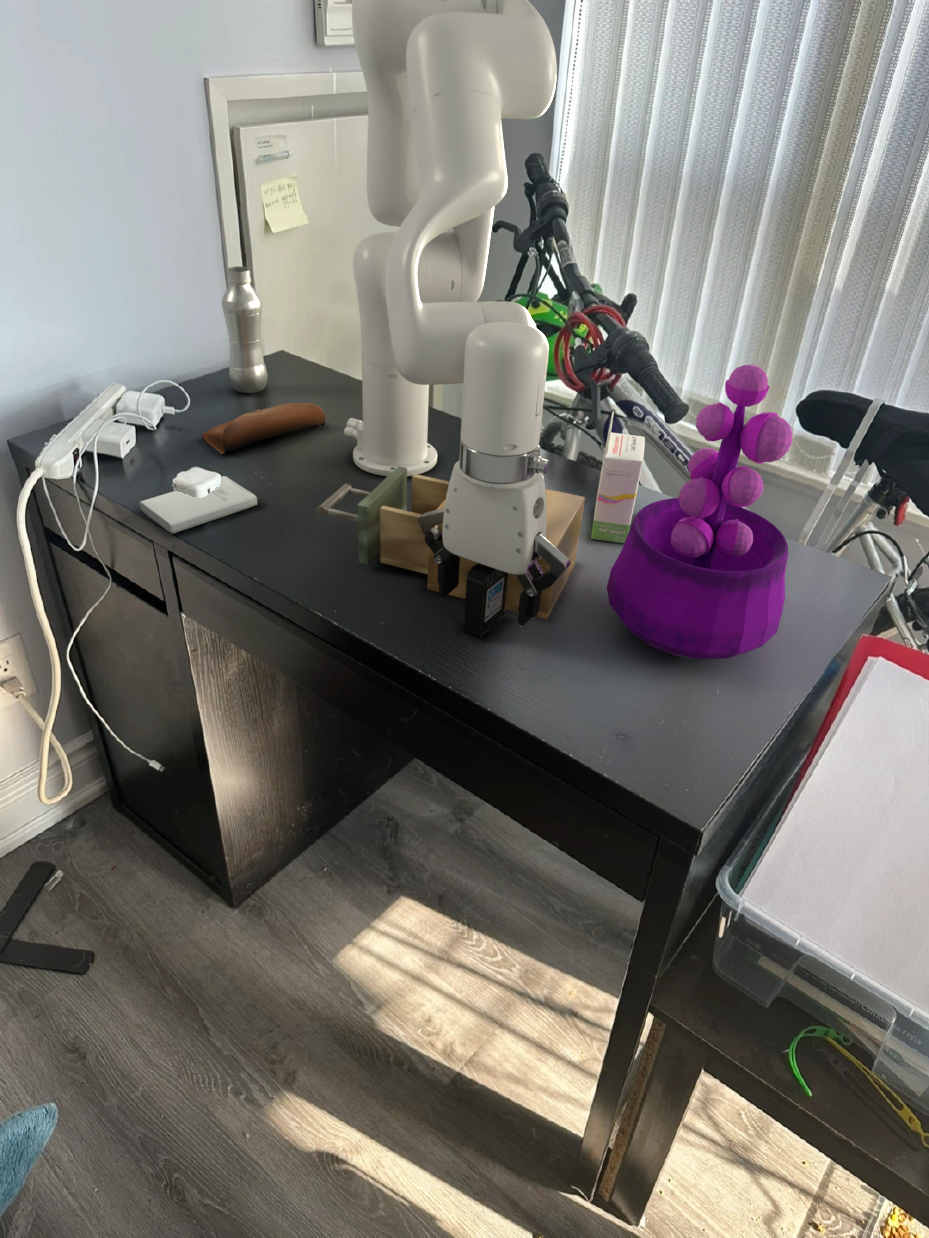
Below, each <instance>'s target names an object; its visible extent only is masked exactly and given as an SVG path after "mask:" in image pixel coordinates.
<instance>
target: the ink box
mask: <svg viewBox="0 0 929 1238" xmlns="http://www.w3.org/2000/svg"><path fill="white" fill-rule="evenodd" d="M614 413H615V411H614V410H613V411H612V412H611V417H610V421H609V427H608V432H607V437H606V443H605V447H604V453H603V458H602V464H601V468H600V469H601V470H600V475H599V481H598V486H597V494H596V501H595V507H594V514H593V522H592V528H591V535H590V539H591V540H596V541H603V542H609V543H610V542H611V543H616V544H617V543H619V544H624V543H625V540H626V538H627V535H628V532H629V530H630V527H631V524H632V520H633V513H634V508H635V503H636V498H637V494H638V489H639V483H640V479H641V473H642V469H643V463H644V456H645V445H646V438H645V436H641V435H635V434H627V433H618V432H612V427H613V419H614Z"/></svg>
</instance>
